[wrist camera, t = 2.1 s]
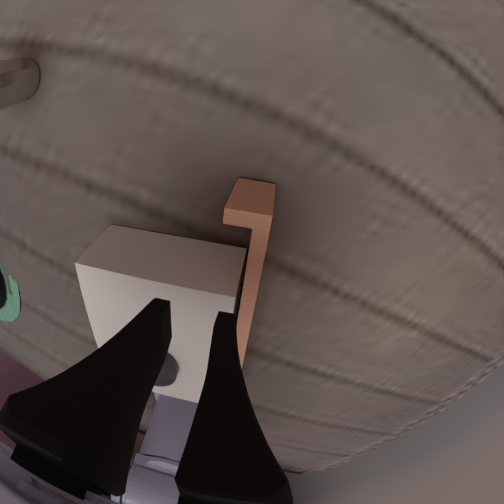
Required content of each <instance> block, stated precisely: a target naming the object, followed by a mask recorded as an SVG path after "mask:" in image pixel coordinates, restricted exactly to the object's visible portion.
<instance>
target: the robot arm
mask: <svg viewBox="0 0 504 504" xmlns="http://www.w3.org/2000/svg"><path fill="white" fill-rule="evenodd" d="M237 318H238V316H237V315H236V314H233V313H228V312H223V311H218V314H217V317H216V320H215V323H214V327H213V333H212V339H211V346H210V352H209V359H208V365H207V372H206V376H205V381H204V385H203V388H202V392H201V395H200V399H199V402H198V403H196V402H192V401H187V400H183V399H179V398H175V397H171V396H167V395H163V394H159V393H155V392H154V395H155V399H156V405H155V408H154V411H153V414H152V417H151V420H150V423H149V426H148V429H147V432H146V435H145V438H144V441H143V444H142V448H141V451H140V454H138V453H137V454H136V456H135V459H132V453H133V449H134V444H135V441H136V437H137V433H138V429H139V426H140V422H141V418H142V415H143V412H144V409H145V406H146V403H147V401H148V399H149V396H150V394H151V392H152V389H153V387H154V385H155V382H156V380H157V378H158V375H159V373H160V371H161V368H162V366H163V364H164V361H165V359H166V356H167V352H168V349H169V346H170V342H171V339H172V326H171V306H170V301H169V300H164V299H160V298H154V299H152V300H151V301H150V302H149V303H148V304H147V305H146V306H145V307H144V308H143V309H142V310H141V311H140V312H139V313H138V314H137V315H136V316H135V317H134V318H133V319H132V320H131V321H130V322H129V323H128V324H127V325H125V326H124V327H123V328H122V329H121V330H120V331H119V332H118V333H117V334H115V335H114V336H113V337H112V338H111V339H109V340H108V341H107V342H106V343H105V344H103V345H102V346H101V347H100V348H98V349H97V350H96V351H94V352H93V353H92V354H90V355H89V356H87V357H86V358H85V359H83V360H82V361H80V362H79V363H77V364H75V365H74V366H72V367H70V368H69V369H67V370H66V371H64V372H62V373H60V374H58V375H57V376H55V377H52V378H50V379H48V380H46V381H44V382H42V383H40V384H38V385H36V386H34V387H31V388H28V389H26V390H23V391H20V392H18V393H15V394H12V395H10V396H9V397H8V399H7V400H6V402H5V403H4V405H3V407H2V409H1V411H0V429H1V430H2V431H3V432H4V433H5V434H6V435H7V436H8V437H9V438H10V439H11V440H13V441H14V442H15V443H16V447H15V449H14V450H12V449H11V448H9V447H8V446H6V445H5V444H3V443H2V442H0V504H67V503H66V502H64V501H62V500H60V499H58V498H55V497H54V496H52V495H50V494H48V493H47V492H44V491H43V490H41V488H40V486H39V483H41V484H43V485H45V486H47V487H48V488H50V489H52V490H54V491H56V492H58V493H59V494H61V495H63V496H65V497H67V498H69V499H71V500H73V501H75V502H78V503H80V504H293V496H292V492H291V489H290V485H289V482H288V479H287V477H286V475H285V474H284V472H283V470H282V469H281V467H280V465H279V464H278V462H277V460H276V458H275V457H274V455H273V453H272V451H271V449H270V447H269V445H268V443H267V441H266V439H265V437H264V434H263V432H262V430H261V428H260V425H259V423H258V421H257V418H256V416H255V413H254V410H253V408H252V405H251V402H250V399H249V396H248V392H247V389H246V385H245V381H244V377H243V373H242V369H241V364H240V358H239V352H238V344H237ZM37 481H38V482H39V483H38V482H37ZM101 493H102V494H104V495H107V496H110V494H111V500H109V499H106V498H103V497H101Z"/></svg>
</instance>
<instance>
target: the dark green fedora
mask: <svg viewBox="0 0 504 504" xmlns="http://www.w3.org/2000/svg"><path fill="white" fill-rule="evenodd" d="M9 280H10V285H11V291H12V292H13V294H10V293H9V289H8V287H7V282H6V278H5V276H4V273H3V270H2V267H1V265H0V320H2V321H8V322H11V321H14V320H15V319H16V318H17V317H18V315H19V312H20V297H19V290H18V284H17V282H15V281H16V279H15V281H14V280H13V279H12V277H11V276H10V275H9Z"/></svg>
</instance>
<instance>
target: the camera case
mask: <svg viewBox="0 0 504 504" xmlns="http://www.w3.org/2000/svg"><path fill="white" fill-rule="evenodd" d="M246 249H247V248H241V247H235V246H230V245H224V244H219V243H213V242H207V241H202V240H196V239H190V238H185V237H179V236H173V235H167V234H162V233H156V232H150V231H145V230H139V229H133V228H128V227H122V226H116V225H110V226H109V227H108V228H107V229H106V230H105V231H104V232H103V233H102V234H101V235H100V236H99V237H98V238H97V239H96V241H95V242H94V243H93V244H92V245H91V246H90V247H89V248H88V249H87V250H86V251H85V252H84V253H83V254H82V255H81V256H80V258H79V259H78V260H77V261H76V262H75V266H76V270H77V275H78V279H79V283H80V287H81V291H82V295H83V299H84V303H85V306H86V310H87V314H88V317H89V320H90V324H91V327H92V330H93V334H94V337H95V340H96V343H97V346H98V348H100V347H101V346H102V345H103V344H105V343H106V342H107V341H108V340H109V339H111V338H112V337H113V336H114V335H115V334H117V333H118V332H119V331H120V330H121V329H122V328H123V327H124V326H125V325H127V324H128V323H129V322H130V321H131V320H132V319H133V318H134V317H135V316H136V315H137V314H138V313H139V312H140V311H141V310H142V309H143V308H144V307H145V306H146V305H147V304H148V303H149V302H150V301H151V300H152V299H154V298H160V299H164V300H169V301H170V306H171V326H172V339H171V342H170V346H169V349H168V352H167V356H166V359H165V361H164V364H163V366H162V368H161V371H160V373H159V375H158V378H157V380H156V382H155V385H154V387H153V389H152V392H155V393H159V394H163V395H167V396H171V397H175V398H179V399H183V400H187V401H192V402H196V403H198V402H199V399H200V395H201V392H202V388H203V385H204V381H205V376H206V372H207V365H208V359H209V352H210V346H211V339H212V333H213V327H214V323H215V320H216V317H217V314H218V311H223V312H228V313H233V314H236V313H237V307H238V300H239V294H240V287H241V281H242V275H243V268H244V262H245V256H246Z"/></svg>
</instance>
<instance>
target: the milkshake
mask: <svg viewBox="0 0 504 504" xmlns="http://www.w3.org/2000/svg"><path fill="white" fill-rule="evenodd" d="M39 81H40V74H39V67H38V65H37V64H36V62H35V61H34V60H0V110H2V109H4V108H7V107H9V106H12V105H14V104H17V103H20V102H22V101H25V100H27V99H28V98H30V97H31V96H32V95H33V94H34V93H35V92H36V89H37V86H38V84H39Z"/></svg>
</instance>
